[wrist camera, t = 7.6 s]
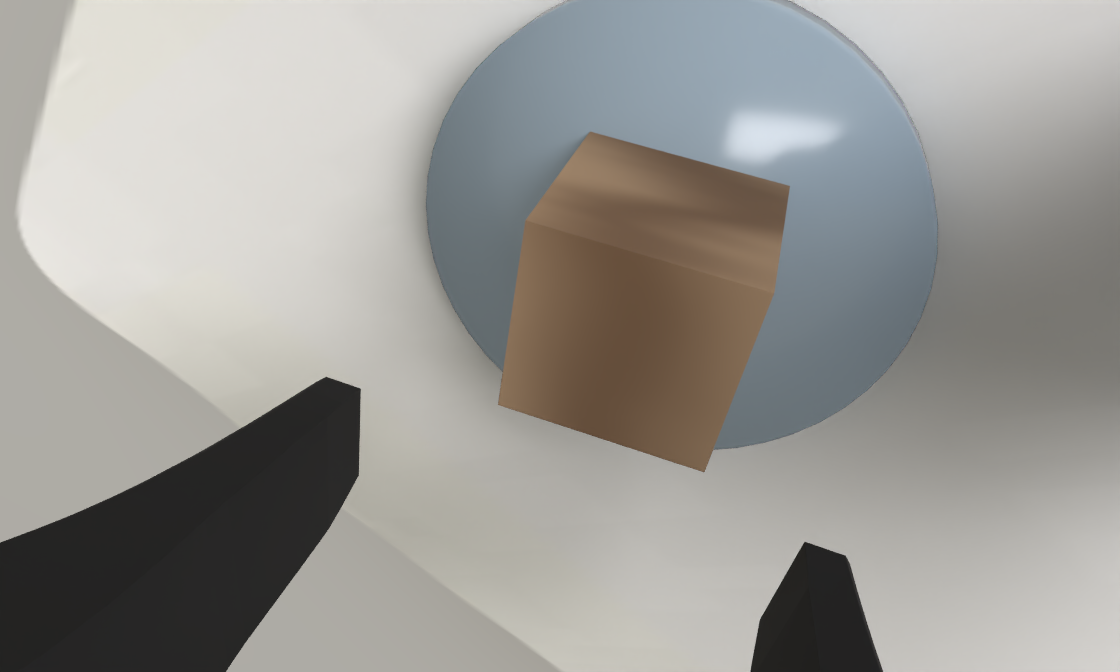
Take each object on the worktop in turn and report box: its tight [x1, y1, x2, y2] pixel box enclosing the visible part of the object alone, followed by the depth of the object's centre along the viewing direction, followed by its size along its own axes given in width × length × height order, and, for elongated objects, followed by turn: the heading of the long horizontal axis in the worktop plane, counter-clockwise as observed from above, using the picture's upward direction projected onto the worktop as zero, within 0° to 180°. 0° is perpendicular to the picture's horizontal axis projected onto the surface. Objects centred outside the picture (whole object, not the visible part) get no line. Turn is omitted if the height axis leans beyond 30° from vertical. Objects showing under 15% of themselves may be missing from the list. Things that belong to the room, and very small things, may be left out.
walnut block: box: [498, 132, 790, 472], centre depth 17 cm, size 4×4×4 cm
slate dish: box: [426, 0, 938, 450], centre depth 19 cm, size 12×12×1 cm
